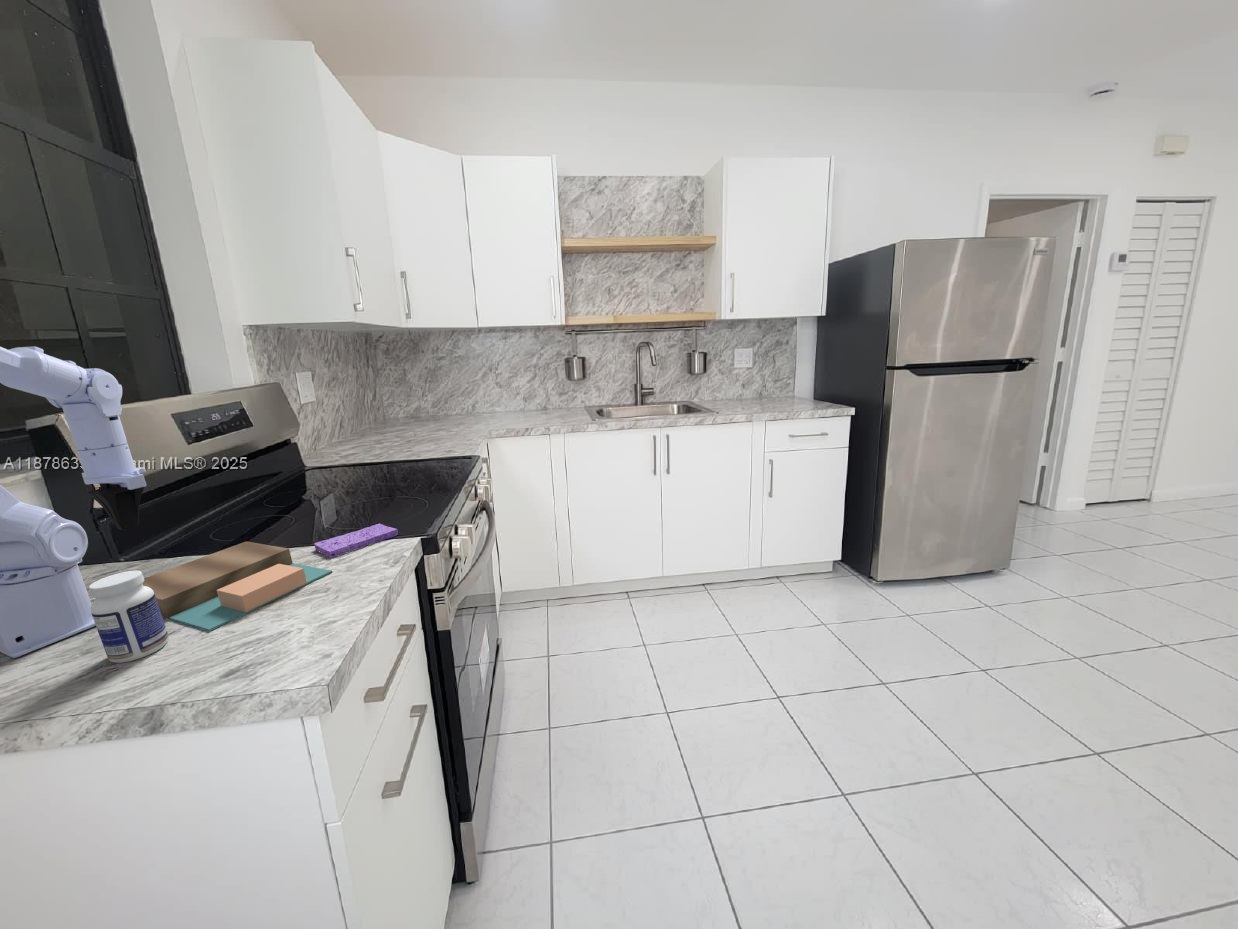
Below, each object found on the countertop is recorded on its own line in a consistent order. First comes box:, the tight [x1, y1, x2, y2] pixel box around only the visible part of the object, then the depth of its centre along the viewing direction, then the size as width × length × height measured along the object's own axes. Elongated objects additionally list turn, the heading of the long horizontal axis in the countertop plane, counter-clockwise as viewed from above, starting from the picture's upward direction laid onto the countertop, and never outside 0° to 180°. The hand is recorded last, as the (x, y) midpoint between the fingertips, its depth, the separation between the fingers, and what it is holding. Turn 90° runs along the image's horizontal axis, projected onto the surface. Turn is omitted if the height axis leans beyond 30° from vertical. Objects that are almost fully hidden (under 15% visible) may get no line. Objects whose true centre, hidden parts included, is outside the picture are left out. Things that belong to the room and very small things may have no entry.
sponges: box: [313, 523, 399, 559], centre depth 95 cm, size 7×13×2 cm, turn 141°
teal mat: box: [168, 562, 333, 632], centre depth 76 cm, size 18×10×1 cm, turn 156°
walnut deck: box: [143, 541, 293, 620], centre depth 81 cm, size 18×12×3 cm, turn 156°
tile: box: [217, 564, 307, 612], centre depth 75 cm, size 9×6×2 cm, turn 156°
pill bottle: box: [88, 570, 170, 664], centre depth 62 cm, size 6×6×10 cm
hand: (128, 528), depth 82 cm, fingers closed
